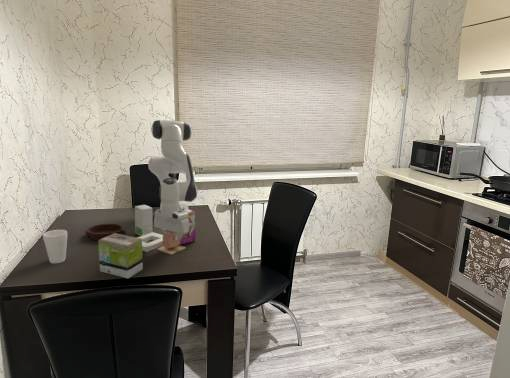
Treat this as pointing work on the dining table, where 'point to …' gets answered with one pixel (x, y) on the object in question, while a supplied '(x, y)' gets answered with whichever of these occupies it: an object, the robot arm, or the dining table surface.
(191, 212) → the candy bar box
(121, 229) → the dish
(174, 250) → the cork pad
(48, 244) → the foam cup
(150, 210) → the skincare box
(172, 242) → the part
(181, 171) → the robot arm
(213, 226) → the dining table surface
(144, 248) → the pocket board
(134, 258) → the tea box
